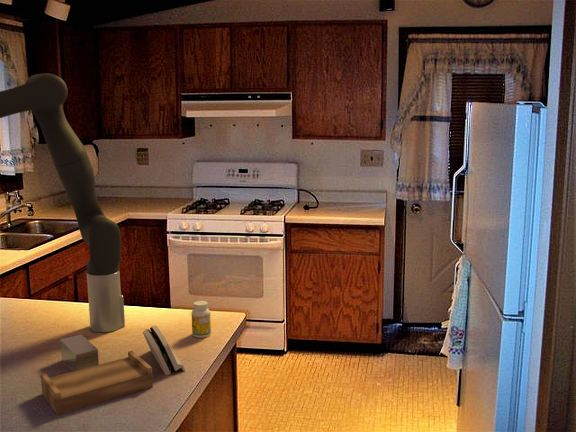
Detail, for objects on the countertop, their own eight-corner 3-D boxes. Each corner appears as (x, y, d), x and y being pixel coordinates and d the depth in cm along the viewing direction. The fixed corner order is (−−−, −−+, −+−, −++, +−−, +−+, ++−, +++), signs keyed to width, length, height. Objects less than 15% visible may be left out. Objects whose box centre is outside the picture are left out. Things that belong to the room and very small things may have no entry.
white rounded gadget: (186, 371, 153) (171, 338, 150) (168, 380, 152) (153, 347, 149) (168, 347, 168) (155, 316, 165) (153, 355, 167) (138, 324, 163)
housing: (82, 355, 163) (81, 334, 162) (99, 371, 154) (97, 349, 153) (61, 361, 160) (60, 339, 159) (77, 377, 150) (75, 354, 149)
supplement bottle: (213, 336, 176) (212, 304, 174) (194, 339, 174) (193, 307, 172) (208, 330, 181) (207, 298, 179) (190, 332, 179) (189, 301, 177)
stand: (42, 393, 142) (40, 373, 141) (132, 369, 155) (131, 350, 154) (57, 415, 132) (55, 393, 131) (152, 387, 145) (151, 367, 144)
